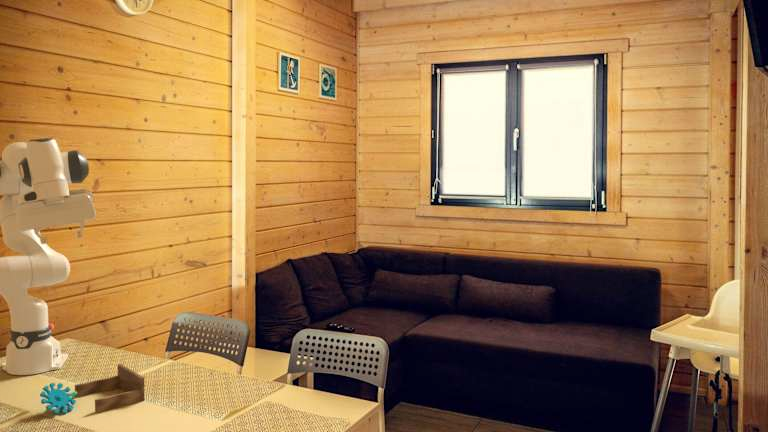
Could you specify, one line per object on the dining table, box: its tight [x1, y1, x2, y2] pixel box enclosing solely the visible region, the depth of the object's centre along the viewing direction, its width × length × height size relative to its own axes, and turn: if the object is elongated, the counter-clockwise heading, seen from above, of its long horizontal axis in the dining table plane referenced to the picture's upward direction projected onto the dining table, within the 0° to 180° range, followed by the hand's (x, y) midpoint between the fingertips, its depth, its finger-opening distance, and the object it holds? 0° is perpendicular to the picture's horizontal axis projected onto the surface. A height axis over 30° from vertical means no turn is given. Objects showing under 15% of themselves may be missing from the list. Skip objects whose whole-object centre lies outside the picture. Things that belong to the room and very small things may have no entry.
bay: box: [74, 363, 145, 413], centre depth 196 cm, size 14×17×7 cm
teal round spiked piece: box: [39, 382, 77, 415], centre depth 186 cm, size 11×6×10 cm
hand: (62, 240), depth 187 cm, fingers open, 8 cm apart
